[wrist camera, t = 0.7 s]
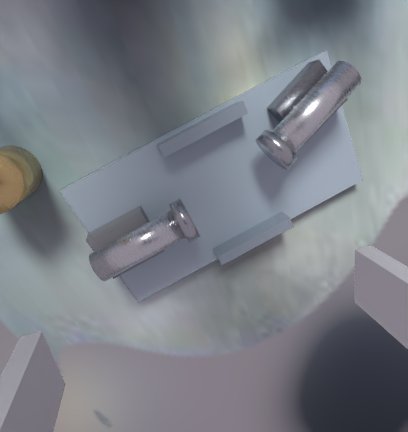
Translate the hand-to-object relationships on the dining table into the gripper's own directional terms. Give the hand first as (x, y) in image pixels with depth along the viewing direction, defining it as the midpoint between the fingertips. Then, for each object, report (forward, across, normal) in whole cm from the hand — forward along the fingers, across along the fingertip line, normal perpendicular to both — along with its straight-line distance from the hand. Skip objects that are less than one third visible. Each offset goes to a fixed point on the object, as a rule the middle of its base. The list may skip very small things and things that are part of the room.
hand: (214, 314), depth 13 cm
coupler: (+22, -14, +5) cm, 27 cm away
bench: (+22, +6, -1) cm, 23 cm away
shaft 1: (+19, -3, -4) cm, 20 cm away
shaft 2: (+21, +14, +5) cm, 26 cm away
